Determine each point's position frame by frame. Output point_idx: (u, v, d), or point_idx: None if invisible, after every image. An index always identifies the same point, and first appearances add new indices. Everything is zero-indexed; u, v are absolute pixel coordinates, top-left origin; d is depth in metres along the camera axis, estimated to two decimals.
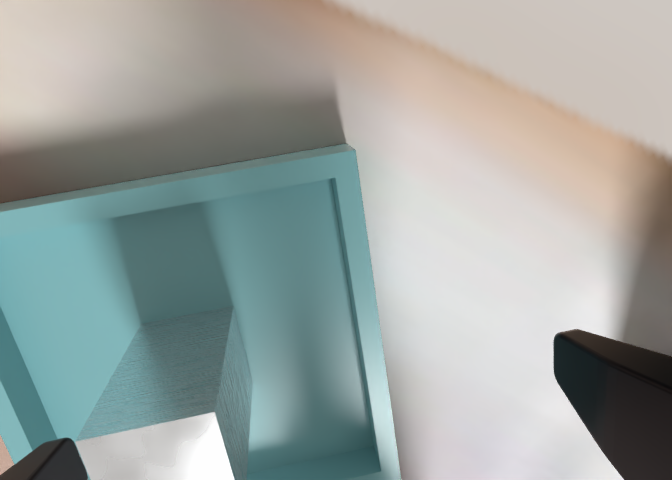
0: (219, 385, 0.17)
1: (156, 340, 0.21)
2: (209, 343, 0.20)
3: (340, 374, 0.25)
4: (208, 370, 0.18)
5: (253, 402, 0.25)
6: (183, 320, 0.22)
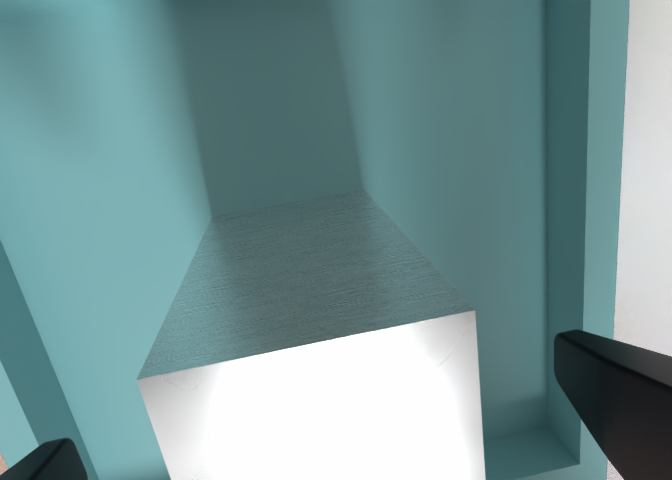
0: (437, 272, 0.08)
1: (250, 229, 0.12)
2: (358, 225, 0.11)
3: (515, 311, 0.16)
4: (389, 253, 0.09)
5: None
6: (285, 208, 0.13)
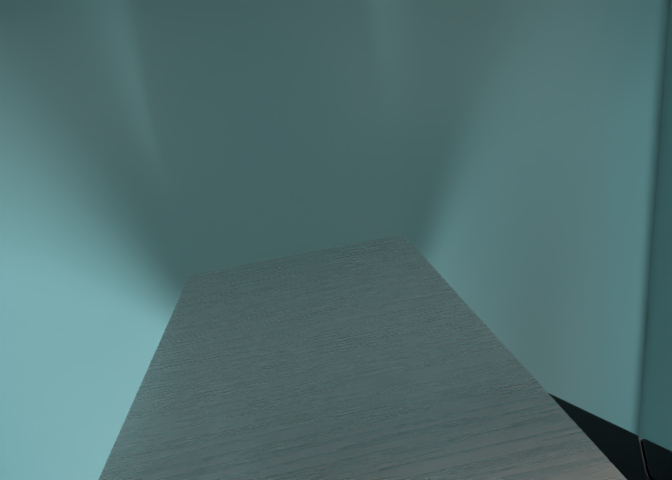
0: (618, 476, 0.04)
1: (243, 308, 0.08)
2: (413, 313, 0.07)
3: (599, 389, 0.12)
4: (494, 401, 0.05)
5: None
6: (294, 264, 0.09)
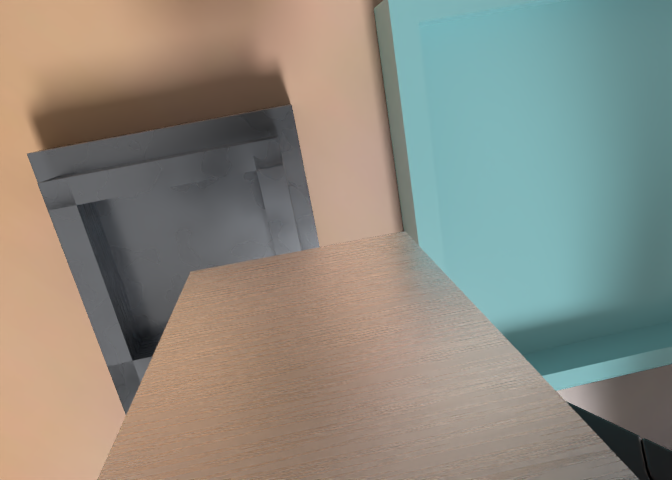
0: (624, 469, 0.04)
1: (244, 304, 0.08)
2: (415, 308, 0.07)
3: None
4: (498, 395, 0.05)
5: (635, 247, 0.23)
6: (295, 260, 0.09)
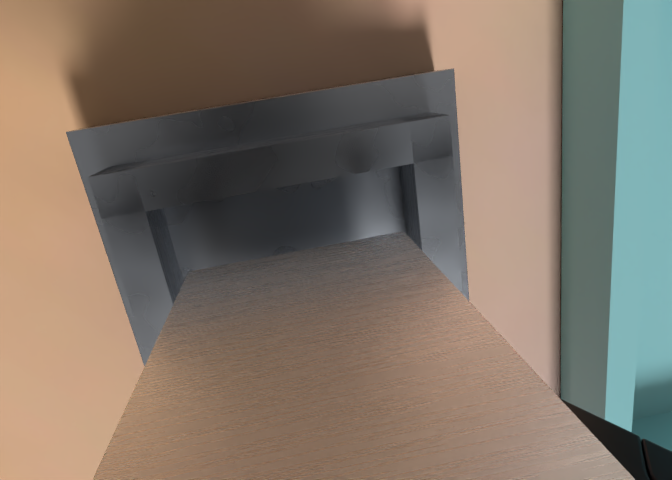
0: (622, 470, 0.04)
1: (241, 304, 0.08)
2: (413, 308, 0.07)
3: None
4: (495, 395, 0.05)
5: None
6: (293, 261, 0.09)
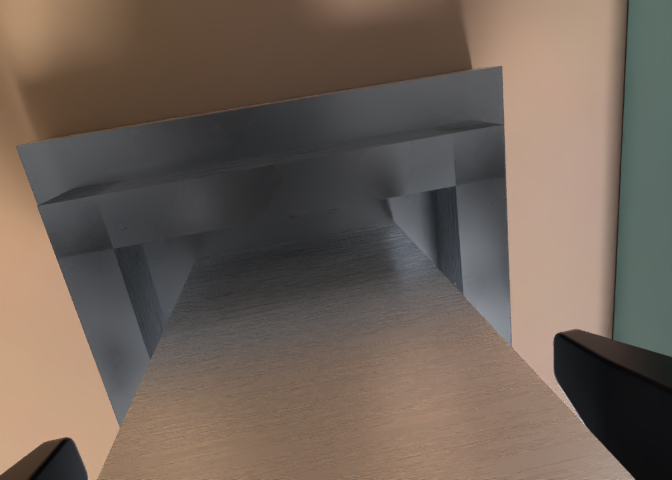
0: (558, 402, 0.05)
1: (246, 284, 0.08)
2: (398, 285, 0.07)
3: None
4: (462, 350, 0.06)
5: None
6: (292, 247, 0.10)
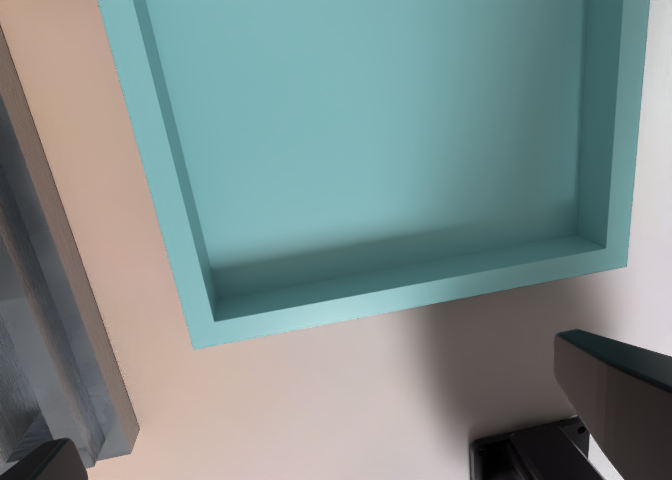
0: None
1: None
2: None
3: (555, 121, 0.19)
4: None
5: (444, 154, 0.19)
6: None
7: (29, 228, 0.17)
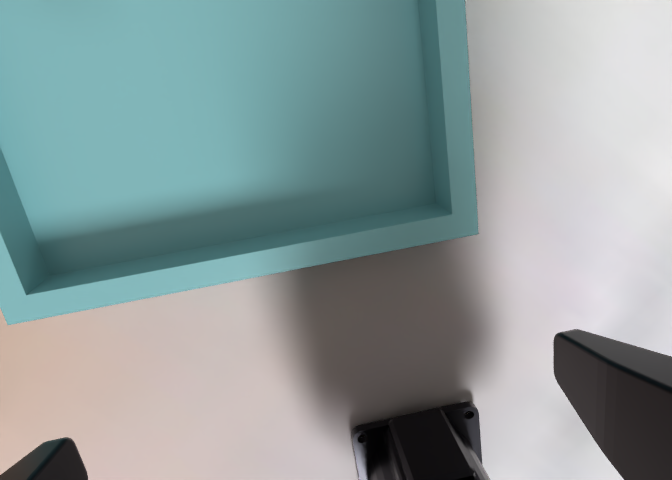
0: None
1: None
2: None
3: (395, 81, 0.18)
4: None
5: (276, 117, 0.18)
6: None
7: None
